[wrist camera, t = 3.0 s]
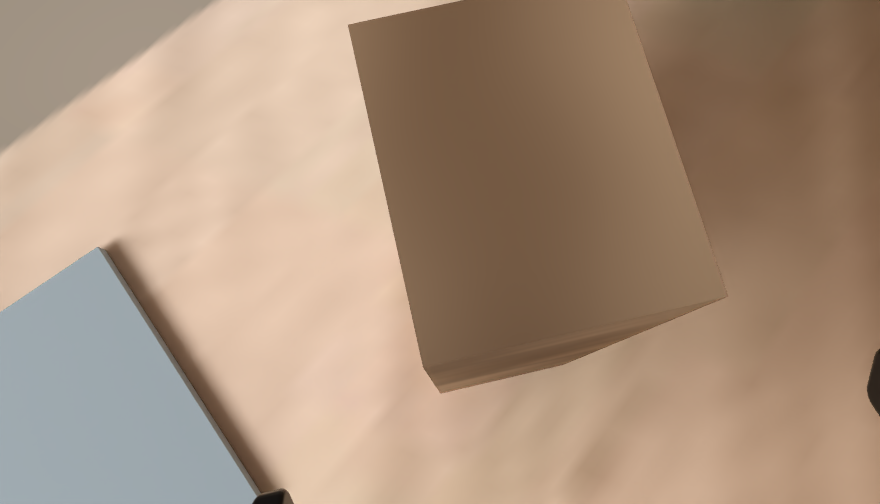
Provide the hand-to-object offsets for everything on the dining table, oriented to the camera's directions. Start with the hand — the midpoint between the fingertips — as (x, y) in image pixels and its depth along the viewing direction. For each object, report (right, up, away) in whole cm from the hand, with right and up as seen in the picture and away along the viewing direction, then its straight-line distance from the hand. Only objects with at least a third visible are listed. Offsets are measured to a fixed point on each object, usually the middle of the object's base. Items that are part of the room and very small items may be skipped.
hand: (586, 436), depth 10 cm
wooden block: (-1, +1, +11) cm, 11 cm away
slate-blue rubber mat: (-14, -4, +10) cm, 18 cm away
